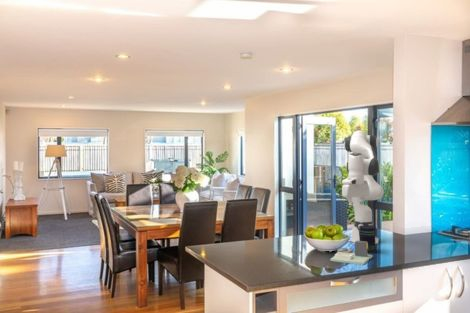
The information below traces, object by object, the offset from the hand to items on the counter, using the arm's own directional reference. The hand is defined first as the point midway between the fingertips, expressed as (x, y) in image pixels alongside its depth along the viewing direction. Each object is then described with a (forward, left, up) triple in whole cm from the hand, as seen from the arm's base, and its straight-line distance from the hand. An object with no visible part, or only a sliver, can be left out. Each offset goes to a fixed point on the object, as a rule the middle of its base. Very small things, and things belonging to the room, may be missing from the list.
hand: (356, 204), depth 253 cm
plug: (+4, +4, -28) cm, 29 cm away
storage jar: (-14, +3, -30) cm, 33 cm away
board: (+9, 0, -30) cm, 31 cm away
